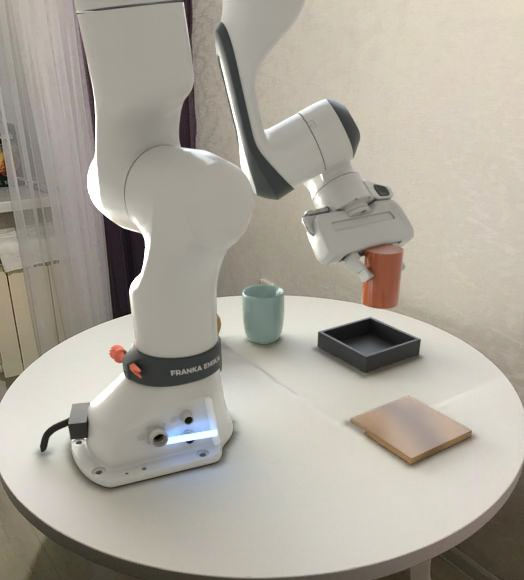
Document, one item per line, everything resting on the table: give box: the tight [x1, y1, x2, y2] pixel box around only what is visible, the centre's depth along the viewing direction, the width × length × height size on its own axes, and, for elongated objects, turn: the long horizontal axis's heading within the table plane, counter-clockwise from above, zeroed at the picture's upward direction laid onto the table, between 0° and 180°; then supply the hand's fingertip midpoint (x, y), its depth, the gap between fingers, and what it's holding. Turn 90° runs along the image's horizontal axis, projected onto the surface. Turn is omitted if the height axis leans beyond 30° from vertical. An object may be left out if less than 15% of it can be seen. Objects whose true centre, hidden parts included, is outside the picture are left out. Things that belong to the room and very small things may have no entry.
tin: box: [317, 316, 422, 374], centre depth 107 cm, size 13×13×4 cm
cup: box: [241, 284, 285, 345], centre depth 111 cm, size 8×8×10 cm
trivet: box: [350, 395, 473, 465], centre depth 84 cm, size 12×12×1 cm
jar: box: [360, 244, 405, 310], centre depth 95 cm, size 6×6×9 cm
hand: (385, 275), depth 94 cm, fingers closed on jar, 6 cm apart
